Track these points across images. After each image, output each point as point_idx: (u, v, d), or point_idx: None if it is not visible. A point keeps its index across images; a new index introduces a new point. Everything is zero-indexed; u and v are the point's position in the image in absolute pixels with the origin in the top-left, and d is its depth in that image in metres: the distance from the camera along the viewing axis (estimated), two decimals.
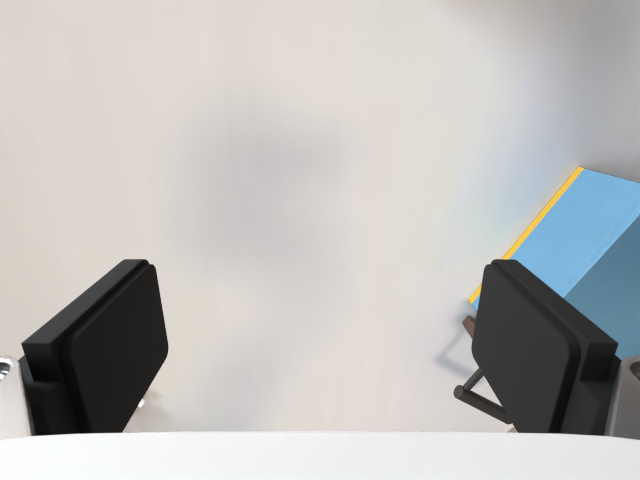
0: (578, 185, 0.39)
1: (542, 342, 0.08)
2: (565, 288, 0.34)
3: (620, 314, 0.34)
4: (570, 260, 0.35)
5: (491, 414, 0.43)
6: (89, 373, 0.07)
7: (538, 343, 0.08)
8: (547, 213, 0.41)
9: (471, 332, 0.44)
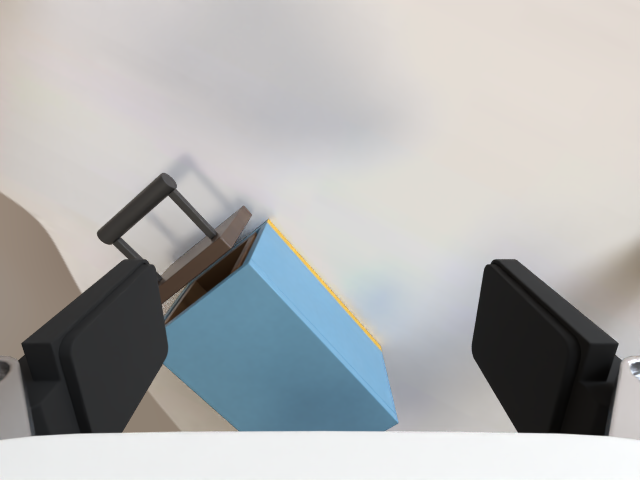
0: (373, 346, 0.40)
1: (542, 342, 0.08)
2: (319, 334, 0.30)
3: (268, 381, 0.30)
4: (335, 339, 0.32)
5: (121, 216, 0.29)
6: (89, 373, 0.07)
7: (538, 343, 0.08)
8: (349, 316, 0.40)
9: (241, 216, 0.33)
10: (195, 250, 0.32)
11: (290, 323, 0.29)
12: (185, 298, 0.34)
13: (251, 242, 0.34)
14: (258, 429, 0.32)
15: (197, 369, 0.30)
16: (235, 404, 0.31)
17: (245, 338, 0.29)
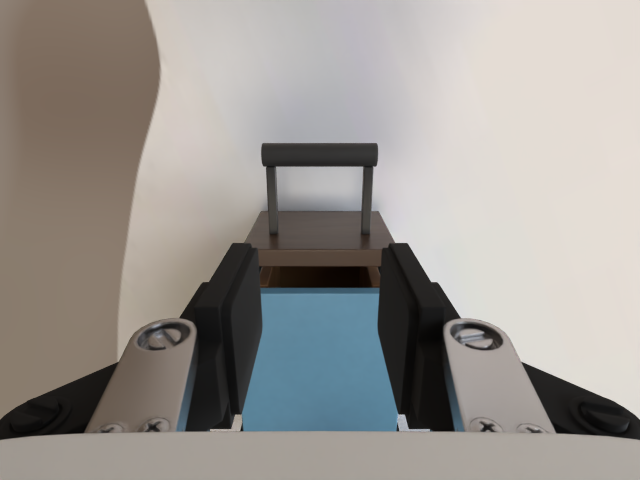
0: None
1: (400, 310, 0.09)
2: None
3: (318, 402, 0.27)
4: None
5: (304, 151, 0.24)
6: (236, 336, 0.09)
7: (399, 312, 0.09)
8: None
9: None
10: (329, 229, 0.28)
11: None
12: None
13: None
14: None
15: (263, 350, 0.25)
16: (265, 403, 0.27)
17: (337, 353, 0.25)
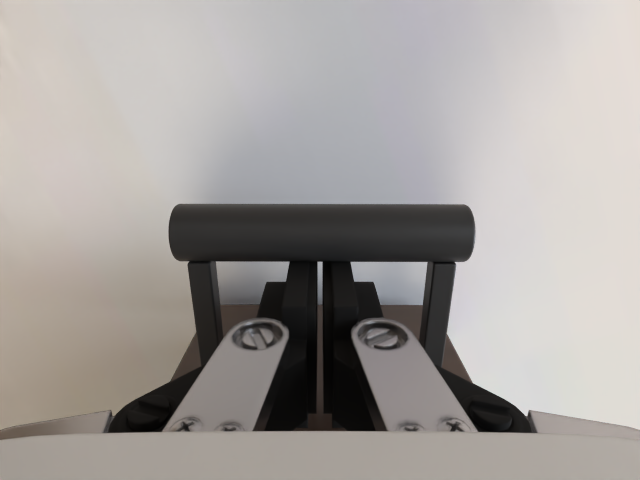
0: None
1: (323, 310, 0.09)
2: None
3: None
4: None
5: (282, 230, 0.09)
6: None
7: (323, 311, 0.09)
8: None
9: None
10: None
11: None
12: None
13: None
14: None
15: None
16: None
17: None
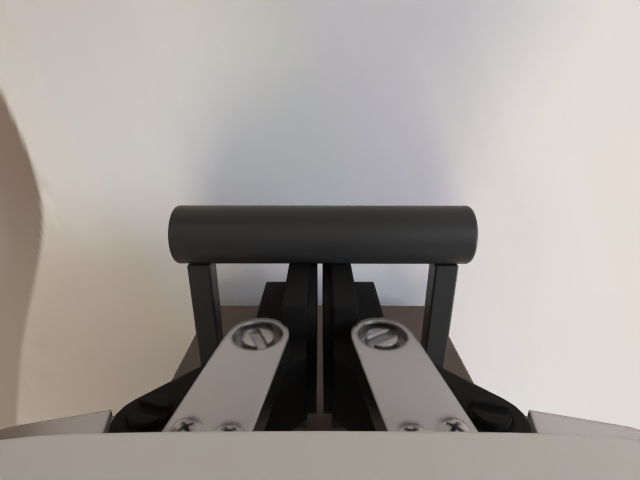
0: None
1: (323, 310, 0.09)
2: None
3: None
4: None
5: (282, 232, 0.09)
6: None
7: (323, 311, 0.09)
8: None
9: None
10: None
11: None
12: None
13: None
14: None
15: None
16: None
17: None
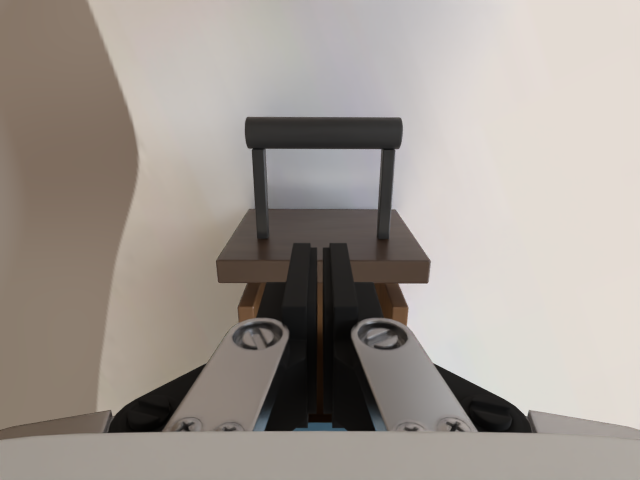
0: None
1: (323, 310, 0.09)
2: None
3: None
4: None
5: (303, 127, 0.18)
6: None
7: (323, 311, 0.09)
8: None
9: None
10: (335, 232, 0.21)
11: None
12: None
13: None
14: None
15: None
16: None
17: None
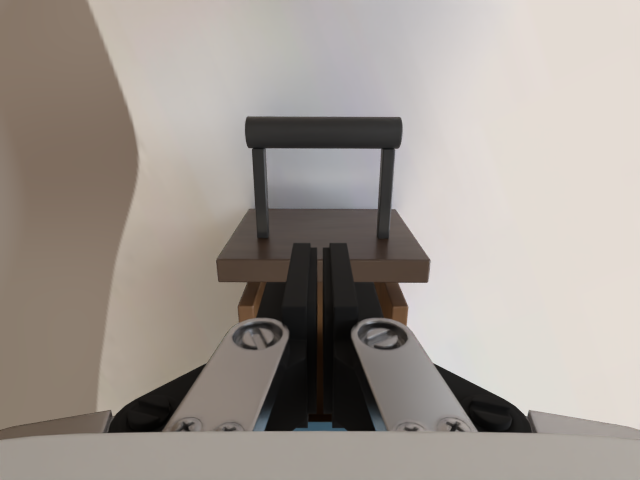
0: None
1: (323, 310, 0.09)
2: None
3: None
4: None
5: (303, 127, 0.18)
6: None
7: (323, 311, 0.09)
8: None
9: None
10: (335, 231, 0.21)
11: None
12: None
13: None
14: None
15: None
16: None
17: None
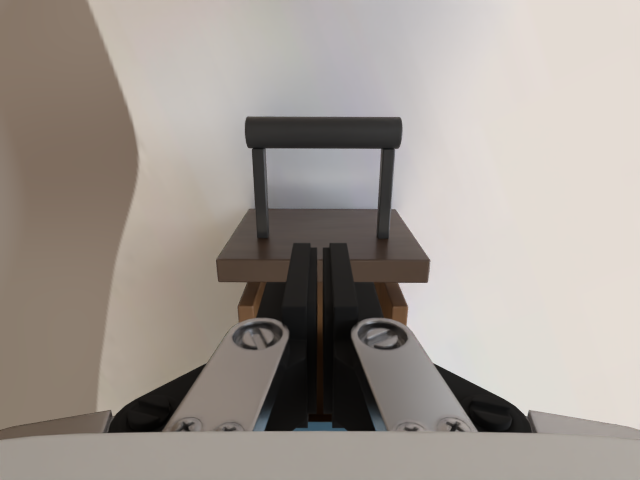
0: None
1: (323, 310, 0.09)
2: None
3: None
4: None
5: (303, 127, 0.18)
6: None
7: (323, 311, 0.09)
8: None
9: None
10: (335, 231, 0.21)
11: None
12: None
13: None
14: None
15: None
16: None
17: None
